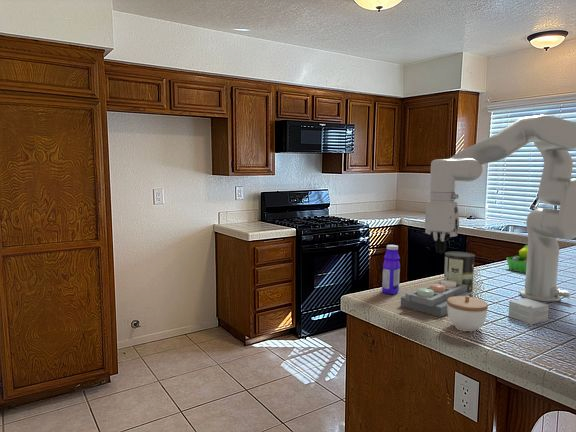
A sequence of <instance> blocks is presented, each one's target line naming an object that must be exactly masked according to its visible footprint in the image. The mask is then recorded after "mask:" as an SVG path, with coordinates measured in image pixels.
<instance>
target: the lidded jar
mask: <svg viewBox="0 0 576 432" xmlns="http://www.w3.org/2000/svg"><path fill="white" fill-rule="evenodd" d="M488 307H489V304H488V303H487V302H486V301H485V300H482V299H480V298H477V297H473V296H472V297H469V296H454V297H450V298H448V299H447V313H448V314H447V317H448V320H449V322H450V323H451V324H452V325H453V327H454V326H455V327H456V328H457V329H456V328H455V327H454V328H455V329H456V330H458V329H460V330H459V331H461V330H464V331H463V332H466V331H474V332H476V330H477V331H478V329H480V328H481V327H482V326H483V325H484V323H485V322H486V318H487V313H488Z"/></svg>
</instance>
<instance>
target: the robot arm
mask: <svg viewBox="0 0 576 432" xmlns="http://www.w3.org/2000/svg"><path fill="white" fill-rule="evenodd" d="M530 143H534V146H535V147H536V149H538V151H539V152H540V154H541V156H542V158H543V164H544V165H543V169H542V174H541V177H540V183H539V187H538V192H537V198H538V200H539V202H541V203H543V204H544V205H550V206H557V207H559V209H554V208H544V207H542V208H541V207H539V208H535V209H534V210H532V211H530V213H528V215H527V218H526V222H525V223H526V225H525V226H526V231H527V240H528V241H527V245H528V252H527V265H526V273H525V281H524V288H522V289H520V290H519V296H521V297H523V298H527V299H530V300H534V301H537V302H544V303H545V302H546V303H547V302H549V303H551V302H559V301H561V297H563V298H567V299H569V298H570V297H571V292H569V291H568V290H562V289H561V288H560V286H559V285H557V279H558V268H559V258H560V257H559V256H560V245H559V241H558V240H567V241H569V240H573V239H575V238H576V178H571V177H572V173H573V168H574V167H573V166H574V162H573V161H574V160H573V158H572V156H571V153H570V152H569V151H570V150H576V122H574V121H570V120H567V119H563V118H560V117H557V116H554V115H553V116H552V115H548V114H547V115H546V114H540V115H539V114H538V115H532V116H524V117H521V118H518V119H517V120H515V121H513V122H512V123H510V124H509V125H507V126H505V127H504V128H503V129H500V130H499V131H498V132H496V133H494V134H493V135H491V136H490V137H488V138H485V139H483V140H481V141H479V142H477V143H474V144H473V145H469V147H468V146H467V147H466V148H464V149H462V150H460V151H459V152H457V153H455V154H454V155H452V156H451V157H450V158H443V159H442V158H439V159H438V158H437V159H433V160H432V161H431V163H430V180H429V181H430V184H429V186H430V187H429V191H430V192H429V200H428V201H427V204H426V209H425V216H424V229H425V232H424V233H425V234H427V235H430V236H431V237H432V238H433V240H434V250H435V253H437V254H443V253H444V254H445V253H446V252H445V251H447V241H448V240H449V239H450V238H452V237H453V238H454V237H457V236H458V235H459V234H458V231H460V230H459V229H460V215H459V212H460V211H459V205H458V202H457V201H456V199H459V194H456V189H455V188H456V182H466V183H467V182H468V183H469V182H474V181H476V180H478V179H479V178H480V177H481V175H482V174H483V166H482V165H485V164H489V163H494V162H495V163H496V162H498V161H501V160H504V159H506V158H508V157H510V156H511V155H512V154H514V153H515V152H516V151H518V150H520V149H522V148H523V147H525V146H526V145H528V144H530Z"/></svg>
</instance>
